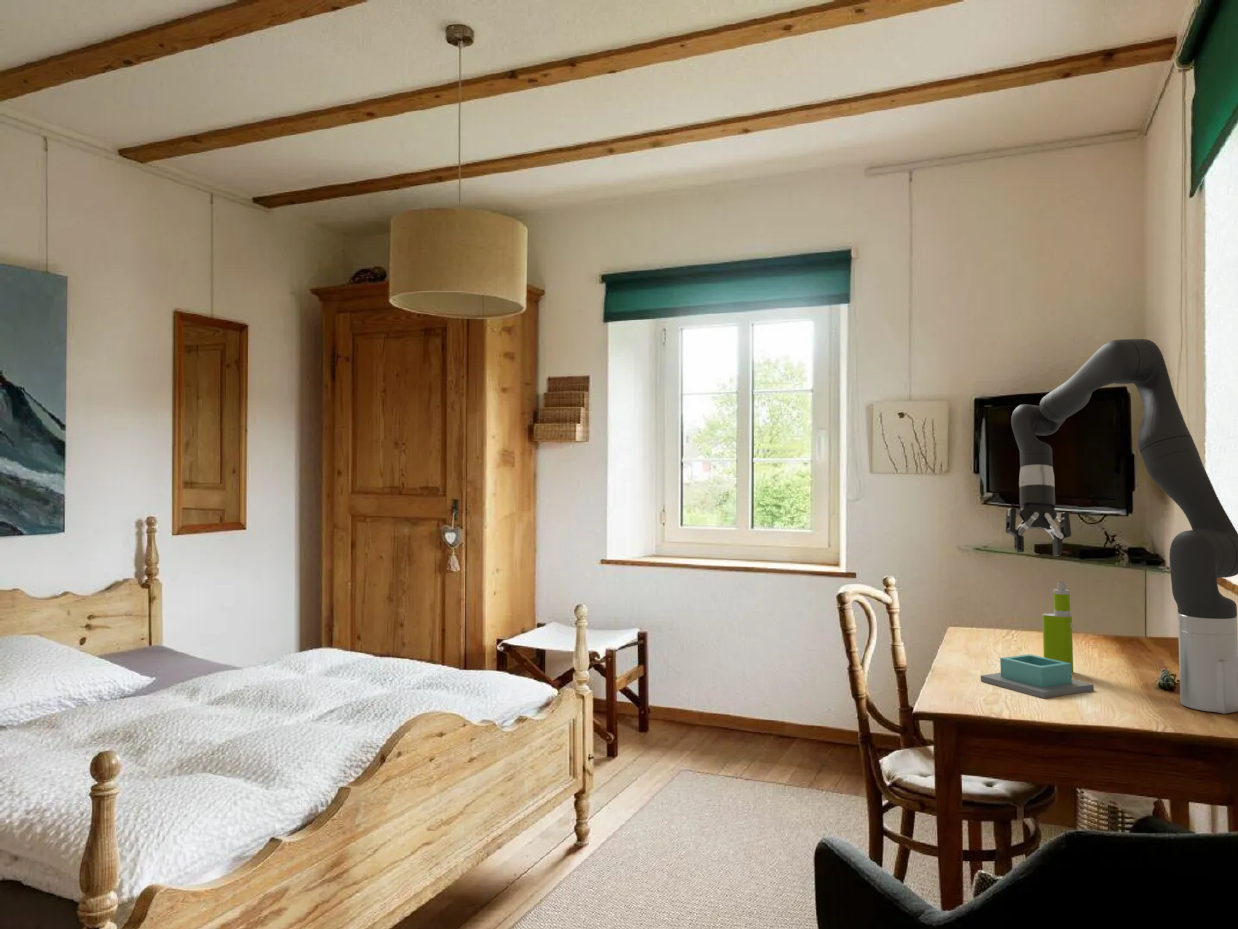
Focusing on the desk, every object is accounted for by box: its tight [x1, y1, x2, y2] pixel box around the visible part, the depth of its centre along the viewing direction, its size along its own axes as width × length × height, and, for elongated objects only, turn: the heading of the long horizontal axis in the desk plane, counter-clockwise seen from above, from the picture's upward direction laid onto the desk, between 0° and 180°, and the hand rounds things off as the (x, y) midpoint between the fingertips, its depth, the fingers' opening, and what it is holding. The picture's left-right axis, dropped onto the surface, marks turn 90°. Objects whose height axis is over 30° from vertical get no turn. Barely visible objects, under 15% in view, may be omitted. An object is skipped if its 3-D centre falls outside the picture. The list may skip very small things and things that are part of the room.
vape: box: [1042, 581, 1074, 674], centre depth 191 cm, size 4×6×20 cm, turn 51°
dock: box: [980, 653, 1095, 699], centre depth 179 cm, size 16×14×5 cm
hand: (1038, 554), depth 199 cm, fingers open, 8 cm apart
